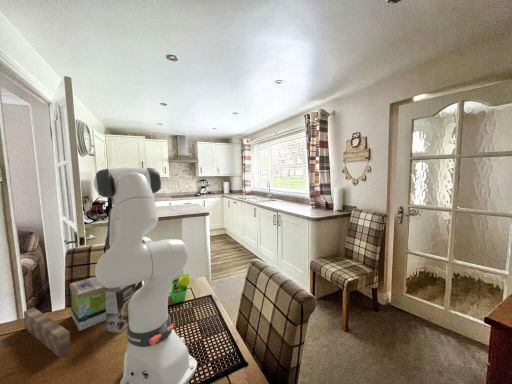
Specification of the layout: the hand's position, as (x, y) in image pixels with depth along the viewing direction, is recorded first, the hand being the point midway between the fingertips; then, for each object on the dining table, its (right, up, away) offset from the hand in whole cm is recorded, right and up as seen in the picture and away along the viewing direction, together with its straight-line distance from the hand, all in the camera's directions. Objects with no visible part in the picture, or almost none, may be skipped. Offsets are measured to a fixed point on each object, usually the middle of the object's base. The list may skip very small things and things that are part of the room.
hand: (108, 296), depth 99 cm
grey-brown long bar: (-10, -6, -19) cm, 22 cm away
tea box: (-4, -6, -7) cm, 10 cm away
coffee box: (+13, -6, -11) cm, 18 cm away
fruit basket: (+30, -5, +10) cm, 32 cm away
